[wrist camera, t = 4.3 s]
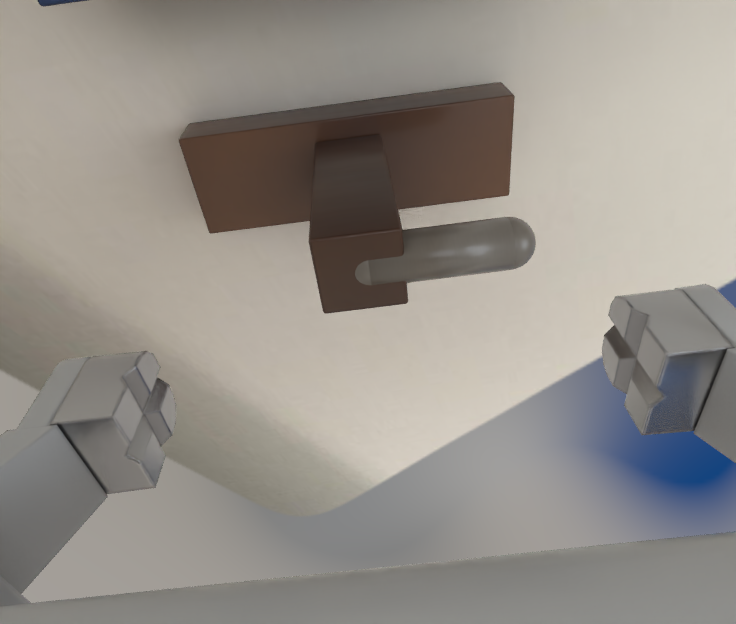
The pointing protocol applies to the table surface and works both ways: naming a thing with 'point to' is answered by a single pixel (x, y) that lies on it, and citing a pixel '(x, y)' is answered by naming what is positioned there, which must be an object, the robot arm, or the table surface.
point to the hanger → (368, 186)
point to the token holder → (56, 2)
